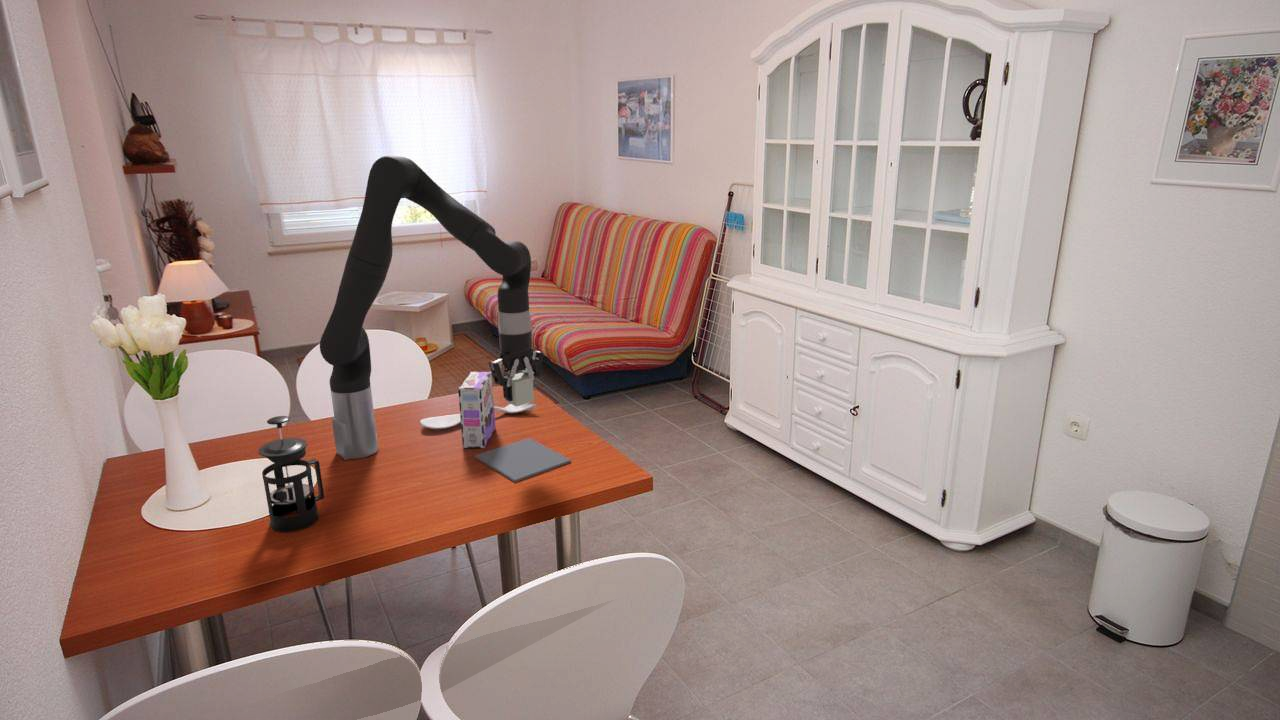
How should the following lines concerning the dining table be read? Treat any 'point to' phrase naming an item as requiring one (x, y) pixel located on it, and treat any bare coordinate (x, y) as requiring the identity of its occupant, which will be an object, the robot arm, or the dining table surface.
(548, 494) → the dining table surface
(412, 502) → the dining table surface
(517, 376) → the sage block
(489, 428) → the candy box
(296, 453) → the french press
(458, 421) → the spoon
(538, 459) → the placemat
